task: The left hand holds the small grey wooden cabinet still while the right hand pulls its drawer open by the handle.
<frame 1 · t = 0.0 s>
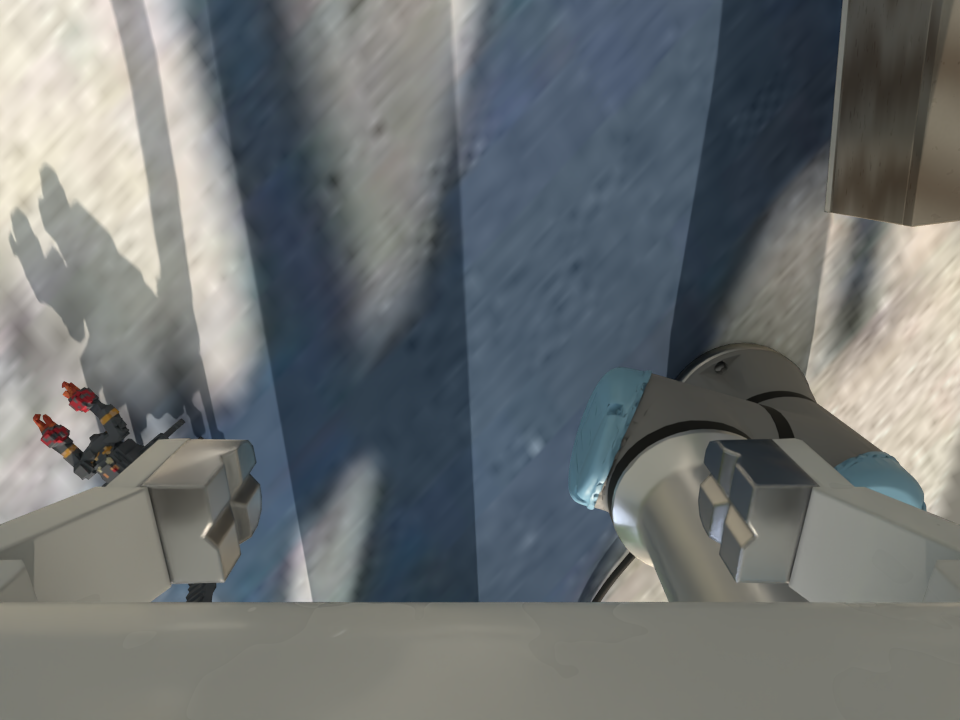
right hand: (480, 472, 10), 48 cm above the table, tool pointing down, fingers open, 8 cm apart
cabinet: (892, 83, 51), on the table
toy: (161, 460, 65), on the table
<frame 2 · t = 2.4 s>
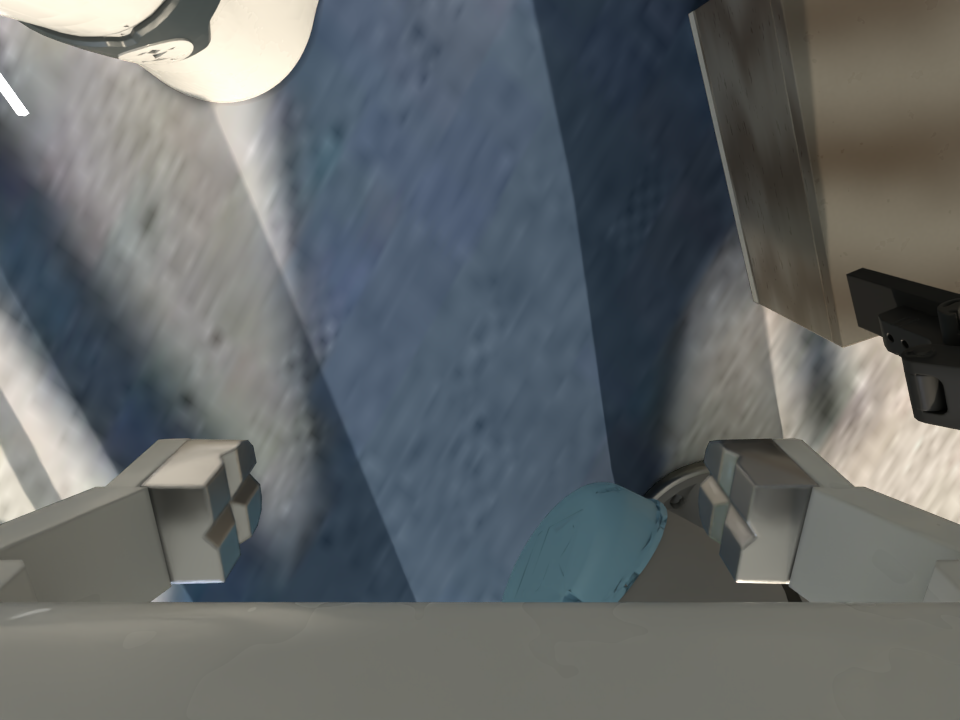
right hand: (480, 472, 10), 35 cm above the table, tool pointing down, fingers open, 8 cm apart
cabinet: (792, 143, 41), on the table
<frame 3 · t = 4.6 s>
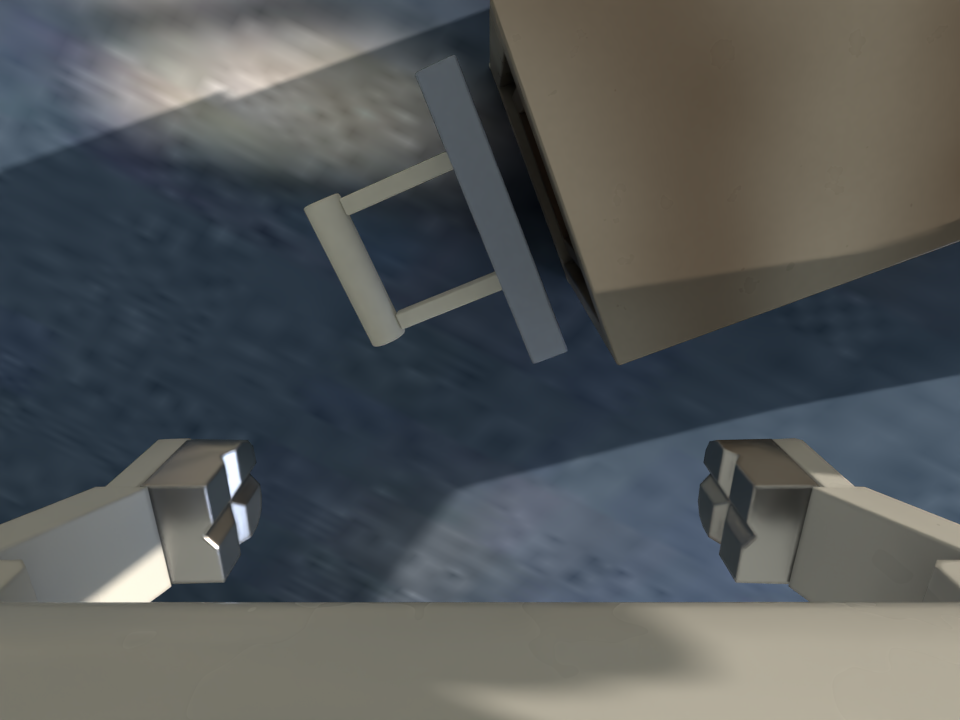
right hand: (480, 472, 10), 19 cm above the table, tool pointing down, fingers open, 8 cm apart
cabinet: (762, 80, 24), on the table, touching left hand
drawer: (675, 131, 20), point 6 cm above the table, slide at 1.2 cm
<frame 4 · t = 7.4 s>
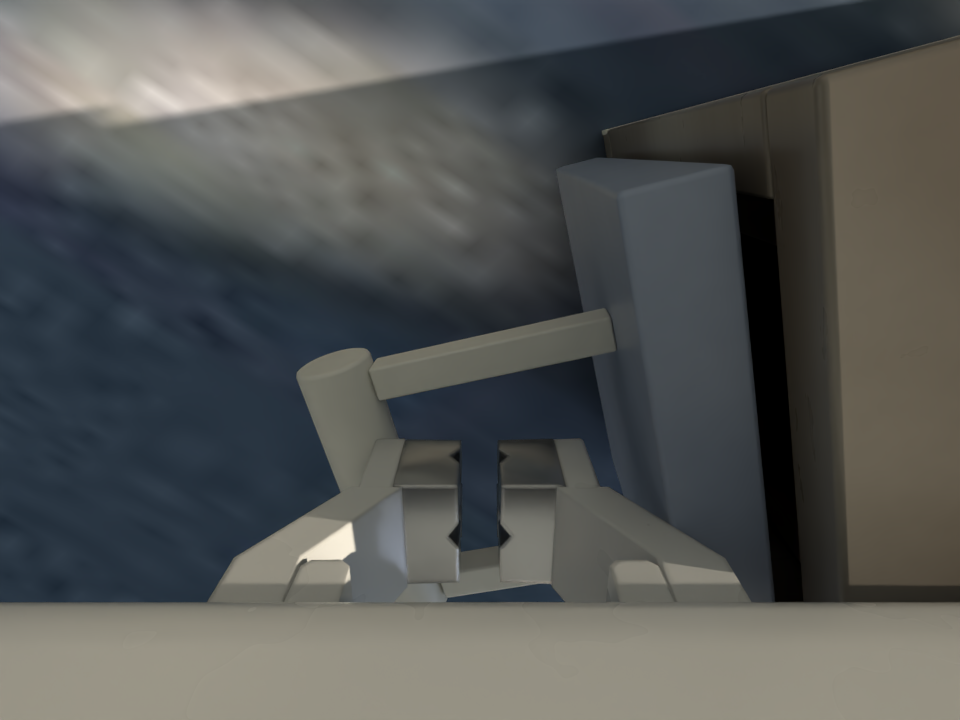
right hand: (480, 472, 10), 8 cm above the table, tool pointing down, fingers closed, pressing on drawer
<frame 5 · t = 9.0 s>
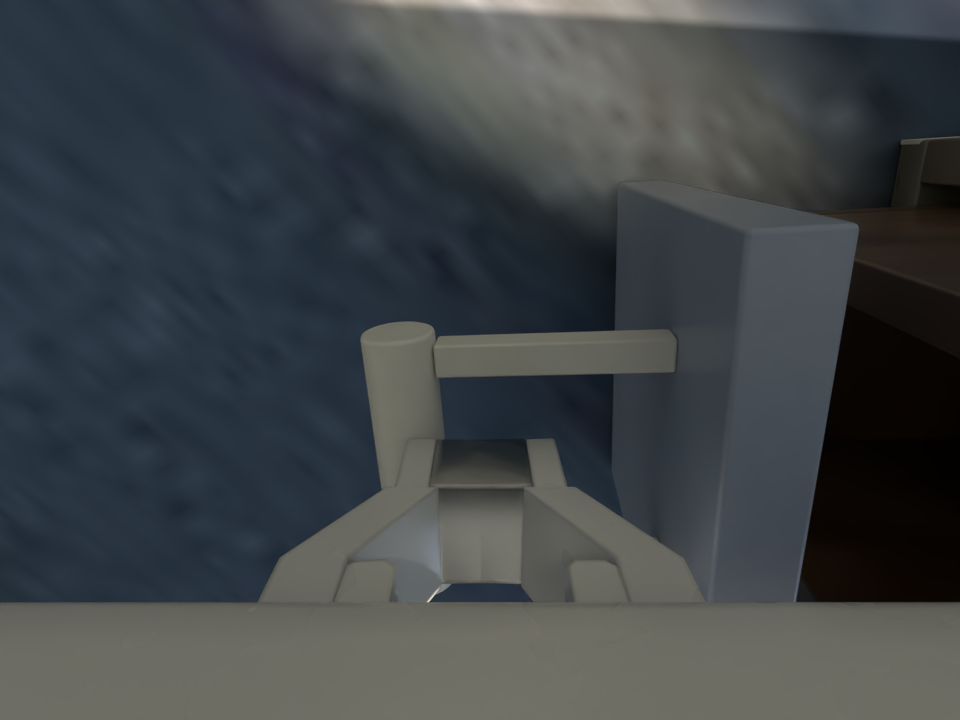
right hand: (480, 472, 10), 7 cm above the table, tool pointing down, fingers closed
when the left hand's fingers open (7 cm above the table, at t = 10.7 s): cabinet stays where it is, on the table.
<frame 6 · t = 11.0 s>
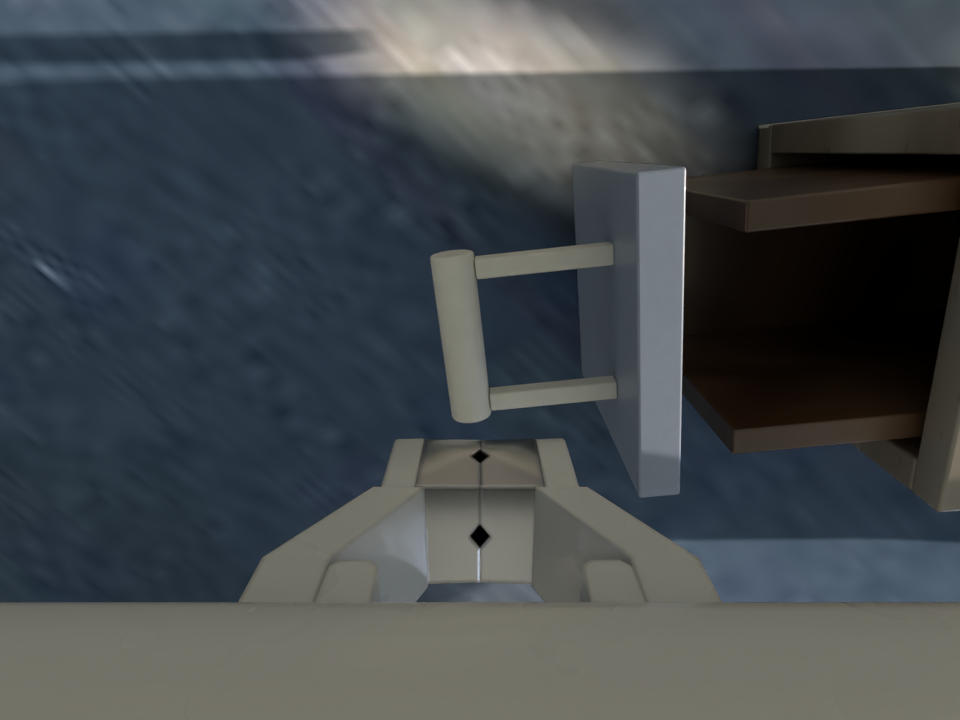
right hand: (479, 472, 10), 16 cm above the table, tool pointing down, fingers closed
drawer: (821, 282, 19), point 6 cm above the table, slide at 6.6 cm
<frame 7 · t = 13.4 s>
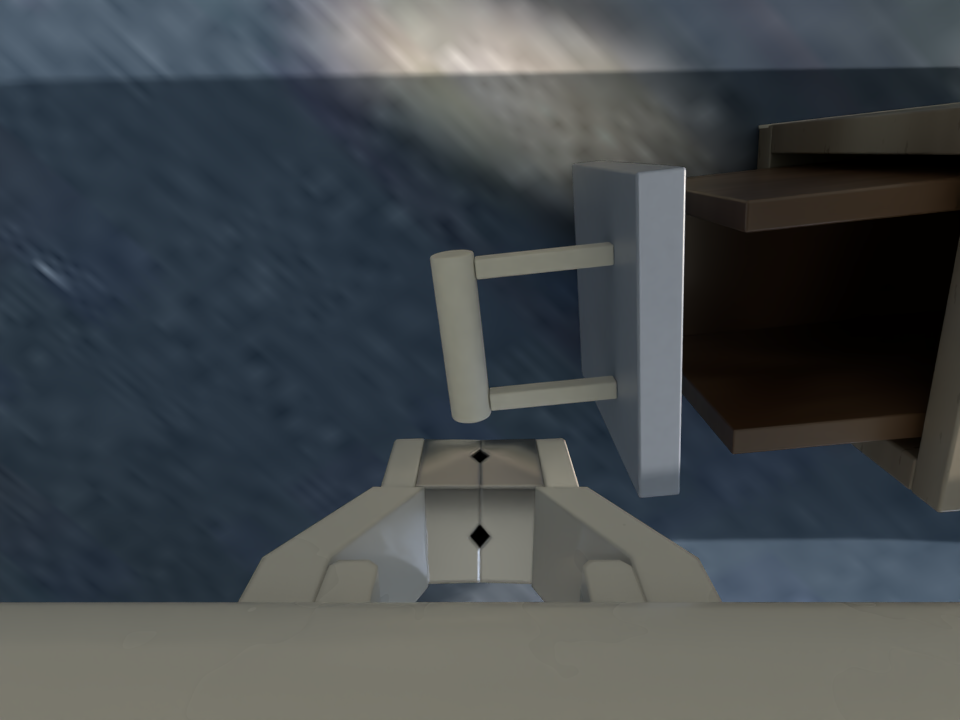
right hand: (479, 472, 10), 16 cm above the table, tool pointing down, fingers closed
drawer: (820, 282, 19), point 6 cm above the table, slide at 6.6 cm
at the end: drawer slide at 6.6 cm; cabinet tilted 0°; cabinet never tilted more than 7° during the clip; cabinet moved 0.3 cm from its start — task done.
